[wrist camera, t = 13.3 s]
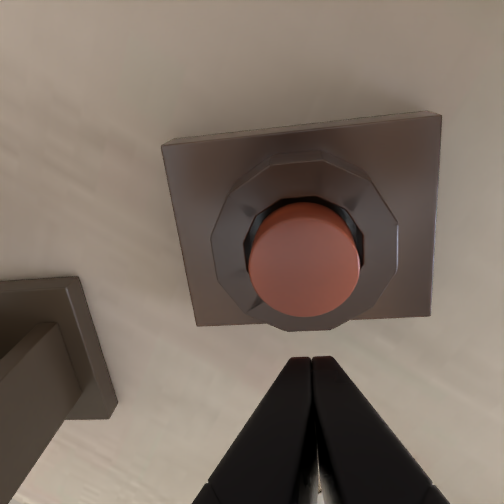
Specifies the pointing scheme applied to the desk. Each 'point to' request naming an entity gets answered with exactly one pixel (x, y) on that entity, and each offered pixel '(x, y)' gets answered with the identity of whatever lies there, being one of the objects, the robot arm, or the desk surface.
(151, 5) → the desk surface
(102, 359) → the lock bracket
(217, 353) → the desk surface
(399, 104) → the desk surface
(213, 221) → the button plate
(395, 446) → the robot arm
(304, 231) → the release button
